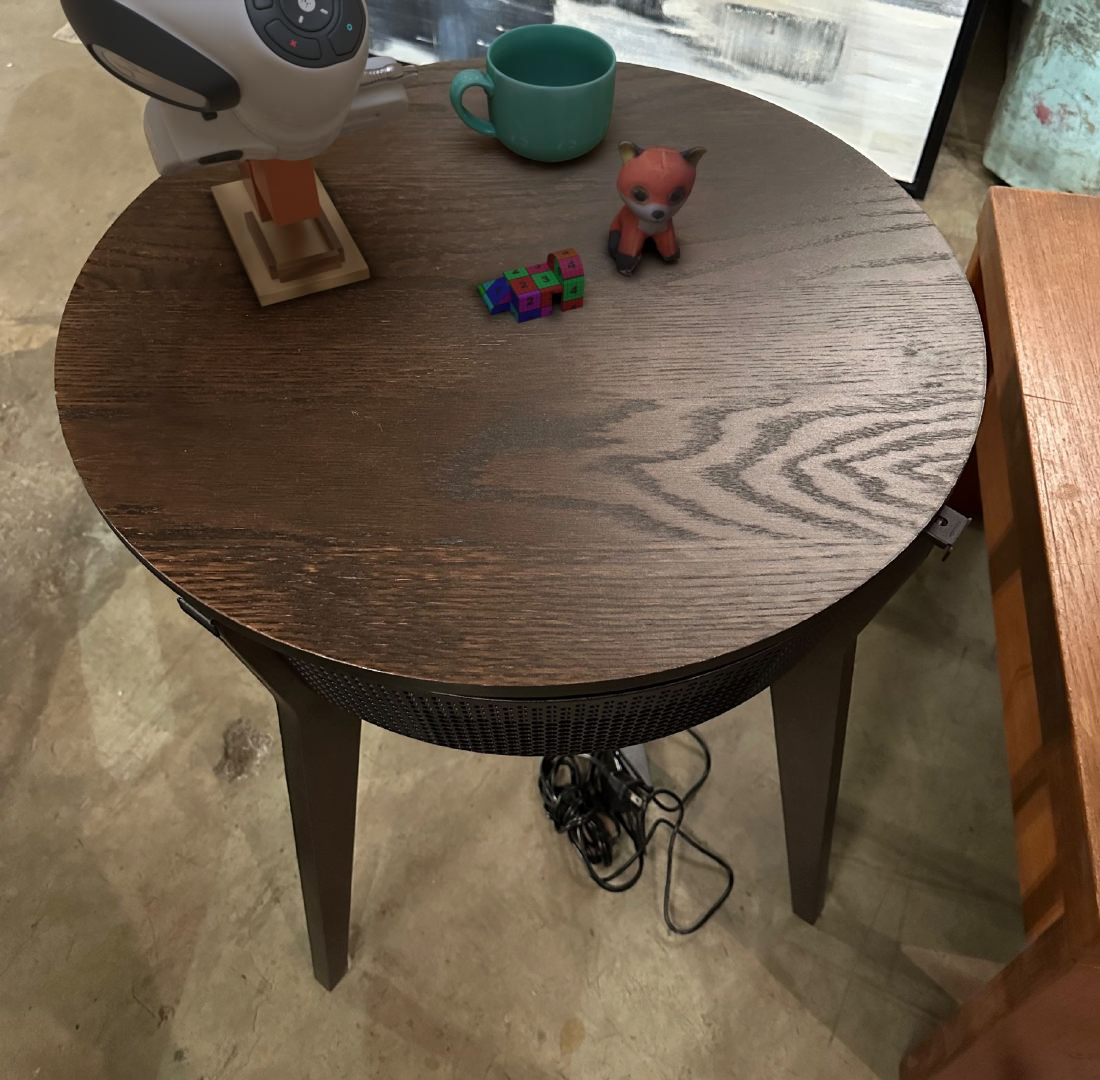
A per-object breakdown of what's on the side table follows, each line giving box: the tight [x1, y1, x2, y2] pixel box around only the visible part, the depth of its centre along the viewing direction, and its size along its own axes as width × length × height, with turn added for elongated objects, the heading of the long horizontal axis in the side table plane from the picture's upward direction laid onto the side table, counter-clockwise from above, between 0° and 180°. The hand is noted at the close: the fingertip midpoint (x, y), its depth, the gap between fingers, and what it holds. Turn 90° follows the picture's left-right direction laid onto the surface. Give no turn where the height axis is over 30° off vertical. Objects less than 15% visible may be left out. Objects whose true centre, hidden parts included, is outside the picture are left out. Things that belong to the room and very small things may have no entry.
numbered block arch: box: [476, 247, 586, 324], centre depth 90 cm, size 8×5×4 cm
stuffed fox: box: [607, 140, 709, 277], centre depth 92 cm, size 8×11×12 cm
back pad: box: [250, 157, 322, 227], centre depth 87 cm, size 4×7×9 cm, turn 25°
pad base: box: [210, 161, 371, 307], centre depth 93 cm, size 10×18×10 cm, turn 25°
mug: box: [448, 23, 617, 163], centre depth 103 cm, size 17×13×10 cm
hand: (275, 145), depth 87 cm, fingers closed on back pad, 4 cm apart
